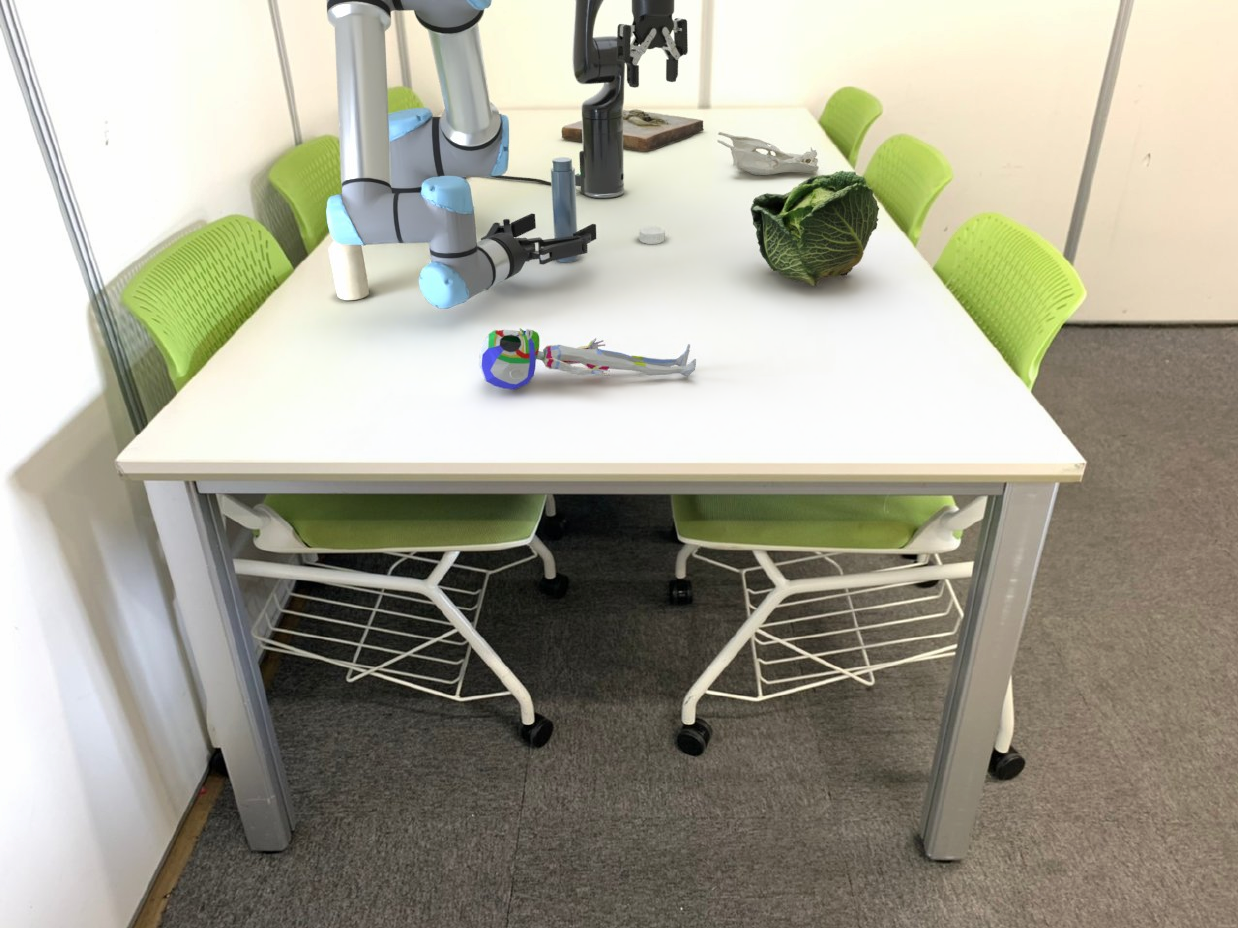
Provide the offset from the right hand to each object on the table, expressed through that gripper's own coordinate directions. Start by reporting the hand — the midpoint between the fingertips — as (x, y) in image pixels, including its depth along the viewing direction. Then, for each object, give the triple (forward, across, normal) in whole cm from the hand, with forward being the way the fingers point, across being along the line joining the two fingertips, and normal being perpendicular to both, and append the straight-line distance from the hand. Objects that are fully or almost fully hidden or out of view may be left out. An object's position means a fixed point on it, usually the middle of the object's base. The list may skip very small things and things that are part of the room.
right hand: (652, 84), depth 165 cm
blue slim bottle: (+29, +20, -1) cm, 35 cm away
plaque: (+29, -51, -78) cm, 98 cm away
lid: (+28, 0, 0) cm, 28 cm away
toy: (+29, +44, +44) cm, 69 cm away
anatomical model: (+29, -53, -24) cm, 65 cm away
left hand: (+23, +20, 0) cm, 30 cm away
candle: (+29, +60, -8) cm, 67 cm away
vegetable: (+29, -10, +34) cm, 46 cm away
